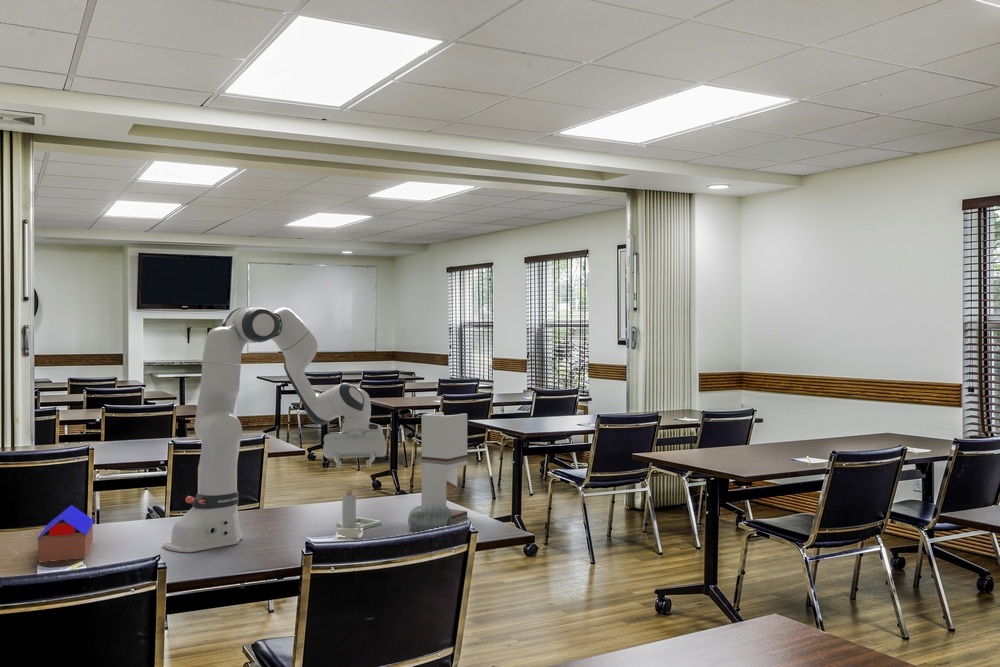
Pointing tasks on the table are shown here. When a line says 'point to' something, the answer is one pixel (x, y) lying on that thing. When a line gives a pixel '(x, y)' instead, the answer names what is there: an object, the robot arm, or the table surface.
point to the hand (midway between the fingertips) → (353, 466)
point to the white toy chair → (350, 531)
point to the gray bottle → (349, 509)
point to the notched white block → (442, 457)
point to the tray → (370, 521)
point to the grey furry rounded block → (429, 517)
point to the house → (66, 536)
